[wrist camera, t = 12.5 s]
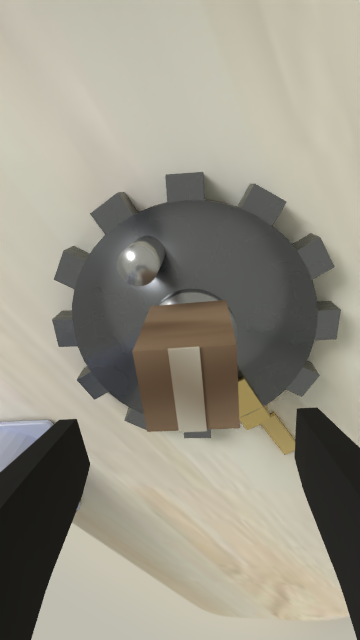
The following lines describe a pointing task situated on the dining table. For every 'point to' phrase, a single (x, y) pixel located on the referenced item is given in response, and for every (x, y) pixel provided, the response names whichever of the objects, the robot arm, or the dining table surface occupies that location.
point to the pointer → (279, 434)
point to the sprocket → (197, 291)
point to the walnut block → (188, 368)
